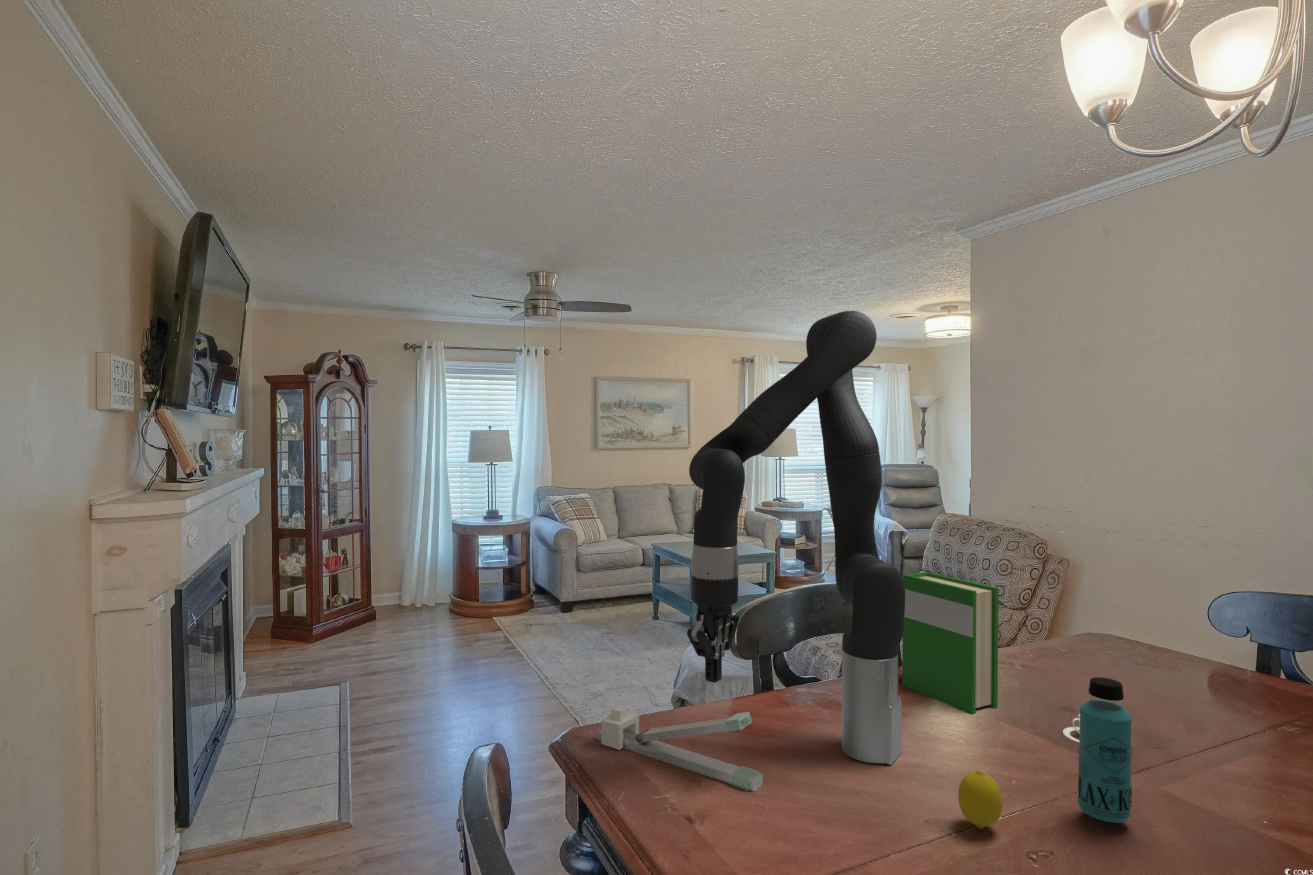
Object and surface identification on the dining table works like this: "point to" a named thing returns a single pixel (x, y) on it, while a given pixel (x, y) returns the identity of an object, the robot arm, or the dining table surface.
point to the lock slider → (618, 726)
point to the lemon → (980, 799)
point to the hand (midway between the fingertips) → (713, 680)
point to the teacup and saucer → (1072, 729)
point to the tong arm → (699, 728)
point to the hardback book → (951, 640)
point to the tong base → (693, 761)
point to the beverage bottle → (1105, 753)
